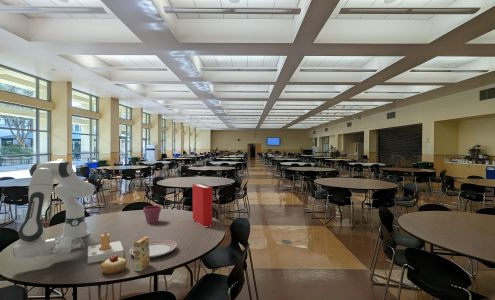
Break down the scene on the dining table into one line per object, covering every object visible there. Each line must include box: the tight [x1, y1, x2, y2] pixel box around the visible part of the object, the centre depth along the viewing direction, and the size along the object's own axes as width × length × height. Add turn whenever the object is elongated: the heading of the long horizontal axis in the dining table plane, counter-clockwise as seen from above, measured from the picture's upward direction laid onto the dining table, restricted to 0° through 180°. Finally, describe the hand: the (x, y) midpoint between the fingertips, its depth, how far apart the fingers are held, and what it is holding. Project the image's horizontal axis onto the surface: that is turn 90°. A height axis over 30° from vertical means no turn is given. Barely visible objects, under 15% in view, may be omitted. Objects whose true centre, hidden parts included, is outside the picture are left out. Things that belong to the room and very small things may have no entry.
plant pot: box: [143, 205, 162, 224], centre depth 236 cm, size 14×14×13 cm
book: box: [192, 183, 213, 226], centre depth 231 cm, size 27×8×32 cm, turn 30°
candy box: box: [133, 236, 151, 272], centre depth 145 cm, size 9×4×15 cm, turn 171°
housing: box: [87, 240, 124, 264], centre depth 163 cm, size 18×18×5 cm
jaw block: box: [100, 230, 111, 251], centre depth 163 cm, size 4×4×13 cm
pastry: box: [100, 255, 128, 275], centre depth 143 cm, size 12×12×9 cm
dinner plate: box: [128, 239, 178, 259], centre depth 168 cm, size 27×27×3 cm
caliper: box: [72, 238, 85, 250], centre depth 169 cm, size 20×1×6 cm, turn 124°
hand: (81, 242), depth 157 cm, fingers open, 8 cm apart
